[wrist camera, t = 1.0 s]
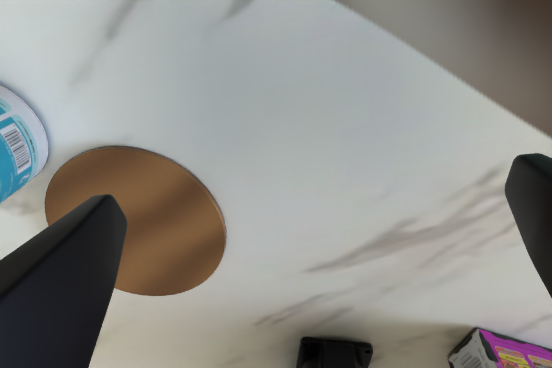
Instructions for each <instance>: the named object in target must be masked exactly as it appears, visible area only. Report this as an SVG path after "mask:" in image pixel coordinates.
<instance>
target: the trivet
mask: <svg viewBox="0 0 552 368" xmlns="http://www.w3.org/2000/svg"><path fill="white" fill-rule="evenodd" d="M101 194H111V195H112V196H114V198H115V199H116V201H117V202H118V204H119V206H120V208H121V209H122V211H123V213H124V214H125V216H126V218H127V223H128V227H127V232H126V237H125V242H124V247H123V251H122V256H121V261H120V266H119V270H118V275H117V279H116V283H115V287H114V288H116V289H119V290H122V291H125V292H129V293H133V294H139V295H147V296H165V295H173V294H178V293H182V292H185V291H187V290H190V289H192V288H194V287H196V286H198V285H200V284H201V283H203V282H204V281H205V280H207V279H208V278H209V277H210V276H211V275H212V274H213V273H214V271H215V270H216V268H217V267H218V265H219V263H220V261H221V259H222V256H223V253H224V249H225V244H226V228H225V223H224V219H223V216H222V213H221V211H220V208H219V206H218V205H217V203H216V201H215V199H214V198H213V196H212V195H211V193H210V192H209V190H208V189H207V188H206V187H205V186H204V185H203V184H202V183H201V182H200V181H199V180H198V179H197V178H196V177H195V176H194V175H193V174H192V173H190V172H189V171H188V170H186V169H185V168H183V167H182V166H180V165H179V164H177V163H175V162H173V161H172V160H170V159H168V158H166V157H163V156H161V155H158V154H156V153H153V152H150V151H146V150H143V149H138V148H132V147H121V146H112V147H101V148H97V149H92V150H89V151H86V152H83V153H81V154H79V155H77V156H75V157H74V158H72V159H70V160H69V161H68V162H67V163H65V164H64V165H63V166H62V167H60V169H59V170H58V171H57V172H56V173H55V174H54V176H53V178H52V180H51V181H50V183H49V186H48V189H47V192H46V198H45V213H46V219H47V223H48V225H49V226H50V225H52V224H53V223H54V222H56V221H57V220H59V219H60V218H62V217H63V216H64V215H66V214H67V213H69V212H70V211H72V210H73V209H74V208H76V207H77V206H79V205H80V204H82V203H83V202H84V201H86V200H87V199H89V198H90V197H92V196H94V195H101Z"/></svg>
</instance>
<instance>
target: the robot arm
mask: <svg viewBox="0 0 552 368" xmlns="http://www.w3.org/2000/svg"><path fill="white" fill-rule="evenodd" d="M505 195H506V198H507V201H508V203H509V206H510V208H511V211H512V214H513V216H514V219H515V221H516V224H517V226H518V229H519V231H520V234H521V237H522V239H523V242H524V244H525V247H526V249H527V251H528V254H529V256H530V258H531V260H532V262H533V264H534V266H535V268H536V270H537V272H538V274H539V275H540V277H541V279H542V281H543V283H544V285H545V287H546V288H547V290H548V292H549V294H550V296H551V298H552V158H550V157H548V156H545V155H543V154H539V153H534V154H523V155H519V156H517V157H516V158H515V159H514V161H513V163H512V166H511V169H510V172H509V175H508V178H507V181H506V184H505ZM127 227H128V223H127V218H126V216H125V214H124V213H123V211H122V209H121V208H120V206H119V204H118V202H117V201H116V199H115V198H114V196H112V195H111V194H101V195H94V196H92V197H90V198H89V199H87V200H86V201H84V202H83V203H82V204H80V205H79V206H77V207H76V208H74V209H73V210H72V211H70V212H69V213H67V214H66V215H64V216H63V217H62V218H60V219H59V220H57V221H56V222H54V223H53V224H52V225H50V226H49V227H47V228H46V229H44V230H43V231H42V232H40V233H39V234H37V235H36V236H34V237H33V238H31V239H30V240H29V241H27V242H26V243H24V244H23V245H21V246H20V247H19V248H17V249H16V250H14V251H13V252H11V253H10V254H9V255H7V256H6V257H4V258H3V259H1V260H0V368H88V367H89V364H90V361H91V357H92V354H93V351H94V348H95V345H96V342H97V339H98V336H99V333H100V330H101V327H102V324H103V321H104V318H105V315H106V312H107V309H108V305H109V302H110V299H111V296H112V293H113V290H114V287H115V283H116V279H117V275H118V270H119V266H120V261H121V256H122V251H123V247H124V242H125V237H126V232H127ZM372 354H373V349H372V346H371V345H369V344H362V343H352V342H342V341H332V340H323V339H313V338H303V339H301V342H300V348H299V354H298V360H297V366H296V368H368V366H369V363H370V360H371V357H372Z"/></svg>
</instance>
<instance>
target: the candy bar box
mask: <svg viewBox="0 0 552 368" xmlns="http://www.w3.org/2000/svg"><path fill="white" fill-rule="evenodd" d="M448 362H449V365H450V367H451V368H552V350H550V349H546V348H543V347H539V346H536V345H532V344H529V343H525V342H522V341H519V340H515V339H512V338H508V337H505V336H501V335H498V334H495V333H491V332H488V331H485V330H481V329H476V330H475V331H474V332H473V333H472V334H471V335H470V336H469V337H468V338H467V339H466V340H465V341H464V342H463V343H462V344H461V345H459V347H458V348H456V349H455V350H454V351H453V352H452V354H451V355H450V356H449V357H448Z"/></svg>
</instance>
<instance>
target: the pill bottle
mask: <svg viewBox="0 0 552 368" xmlns="http://www.w3.org/2000/svg"><path fill="white" fill-rule="evenodd" d="M47 157H48V141H47V136H46V133H45V130H44V128H43V126H42V124H41V122H40V120H39V119H38V117H37V116H36V114H35V113H34V112H33V110H32V109H31V108H30V107H29V106H28V105H27V104H26V103H25V102H24V101H23V100H22V99H20V98H19V97H18V96H17V95H15V94H14V93H12V92H11V91H9V90H8V89H6V88H4V87H3V86H0V203H1V202H2V201H4V200H5V199H6V198H8V197H9V196H10V195H12V194H13V193H14V192H16V191H17V190H18V189H20V188H21V187H22V186H23V185H25V184H26V183H27V182H29V181H30V180H31V179H33V178H34V177H35V176H36V175H37V174H38V173H39V172H40V171H41V170H42V168H43V167H44V165H45V163H46V160H47Z"/></svg>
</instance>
